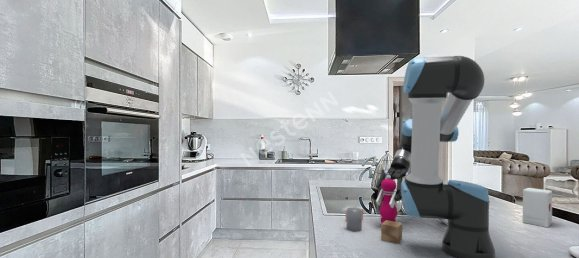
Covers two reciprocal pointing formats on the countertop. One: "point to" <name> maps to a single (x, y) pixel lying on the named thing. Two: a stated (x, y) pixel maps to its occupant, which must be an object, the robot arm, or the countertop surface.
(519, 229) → the countertop surface
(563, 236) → the countertop surface
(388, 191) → the pepper mill
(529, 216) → the supplement box
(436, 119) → the robot arm
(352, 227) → the charcoal canister
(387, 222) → the walnut block
